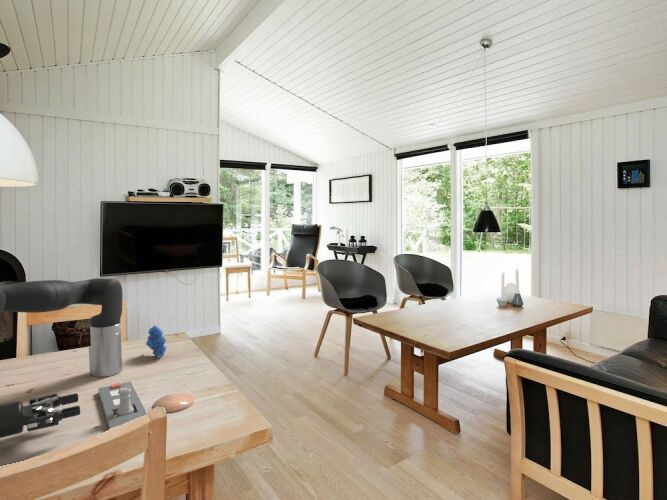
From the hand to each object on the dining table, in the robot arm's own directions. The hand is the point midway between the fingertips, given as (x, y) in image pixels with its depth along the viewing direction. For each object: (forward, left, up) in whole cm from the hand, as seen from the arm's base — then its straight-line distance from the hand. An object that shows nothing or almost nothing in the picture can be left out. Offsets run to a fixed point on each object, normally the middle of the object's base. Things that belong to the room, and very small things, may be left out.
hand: (79, 403), depth 102 cm
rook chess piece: (+7, +8, -7) cm, 12 cm away
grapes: (-18, +50, -7) cm, 54 cm away
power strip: (+2, +12, -7) cm, 14 cm away
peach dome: (+15, +18, -7) cm, 24 cm away
